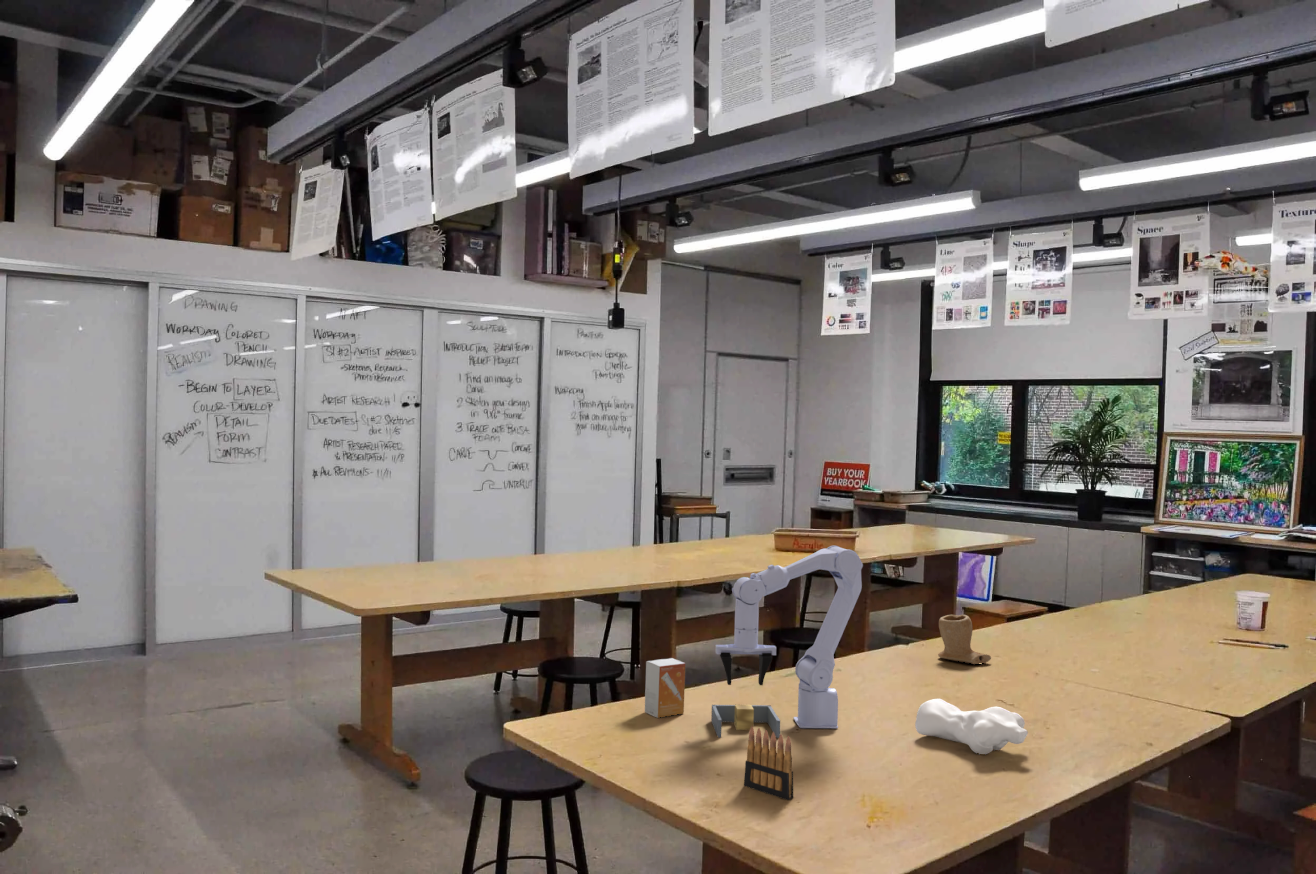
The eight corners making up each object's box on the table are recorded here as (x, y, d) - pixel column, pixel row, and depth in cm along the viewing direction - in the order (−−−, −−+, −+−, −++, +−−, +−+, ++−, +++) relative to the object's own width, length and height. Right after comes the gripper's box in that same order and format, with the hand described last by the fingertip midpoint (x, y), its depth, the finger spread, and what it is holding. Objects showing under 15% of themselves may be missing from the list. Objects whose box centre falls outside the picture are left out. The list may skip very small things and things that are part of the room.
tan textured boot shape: (929, 660, 310) (931, 613, 310) (949, 655, 318) (950, 610, 318) (972, 669, 298) (974, 621, 298) (991, 663, 306) (993, 617, 306)
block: (750, 725, 233) (751, 704, 233) (753, 730, 229) (753, 709, 229) (734, 724, 233) (734, 704, 233) (736, 729, 229) (737, 709, 229)
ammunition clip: (743, 785, 192) (745, 726, 192) (749, 783, 193) (750, 724, 193) (788, 800, 185) (789, 738, 185) (793, 797, 186) (795, 736, 186)
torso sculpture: (906, 747, 224) (1002, 768, 205) (904, 704, 225) (1000, 721, 205) (952, 734, 235) (1047, 752, 216) (950, 693, 236) (1045, 708, 217)
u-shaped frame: (770, 721, 236) (770, 705, 236) (779, 737, 224) (780, 720, 224) (711, 721, 235) (711, 704, 235) (717, 737, 223) (718, 720, 223)
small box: (657, 718, 236) (659, 666, 236) (643, 712, 241) (645, 660, 241) (684, 714, 241) (686, 662, 241) (670, 708, 246) (671, 657, 246)
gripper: (718, 630, 227) (717, 688, 227) (779, 631, 228) (777, 688, 228) (715, 624, 234) (713, 680, 234) (773, 625, 235) (772, 681, 235)
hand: (744, 684), depth 231 cm, fingers open, 7 cm apart
